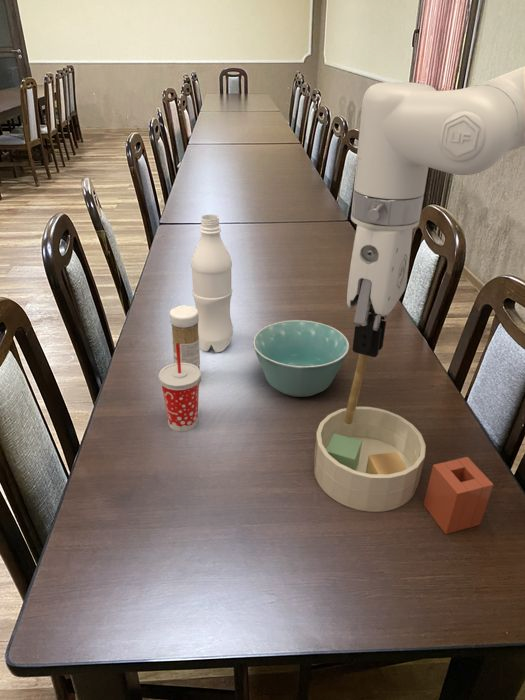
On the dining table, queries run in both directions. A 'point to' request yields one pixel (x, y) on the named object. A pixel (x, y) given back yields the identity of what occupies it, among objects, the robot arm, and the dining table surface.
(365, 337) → the robot arm
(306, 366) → the bowl
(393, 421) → the stir bowl
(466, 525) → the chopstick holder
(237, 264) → the dining table surface
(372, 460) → the maple block
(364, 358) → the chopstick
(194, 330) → the sprinkles bottle
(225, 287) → the water bottle
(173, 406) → the beverage cup
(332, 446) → the sage block
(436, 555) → the dining table surface
